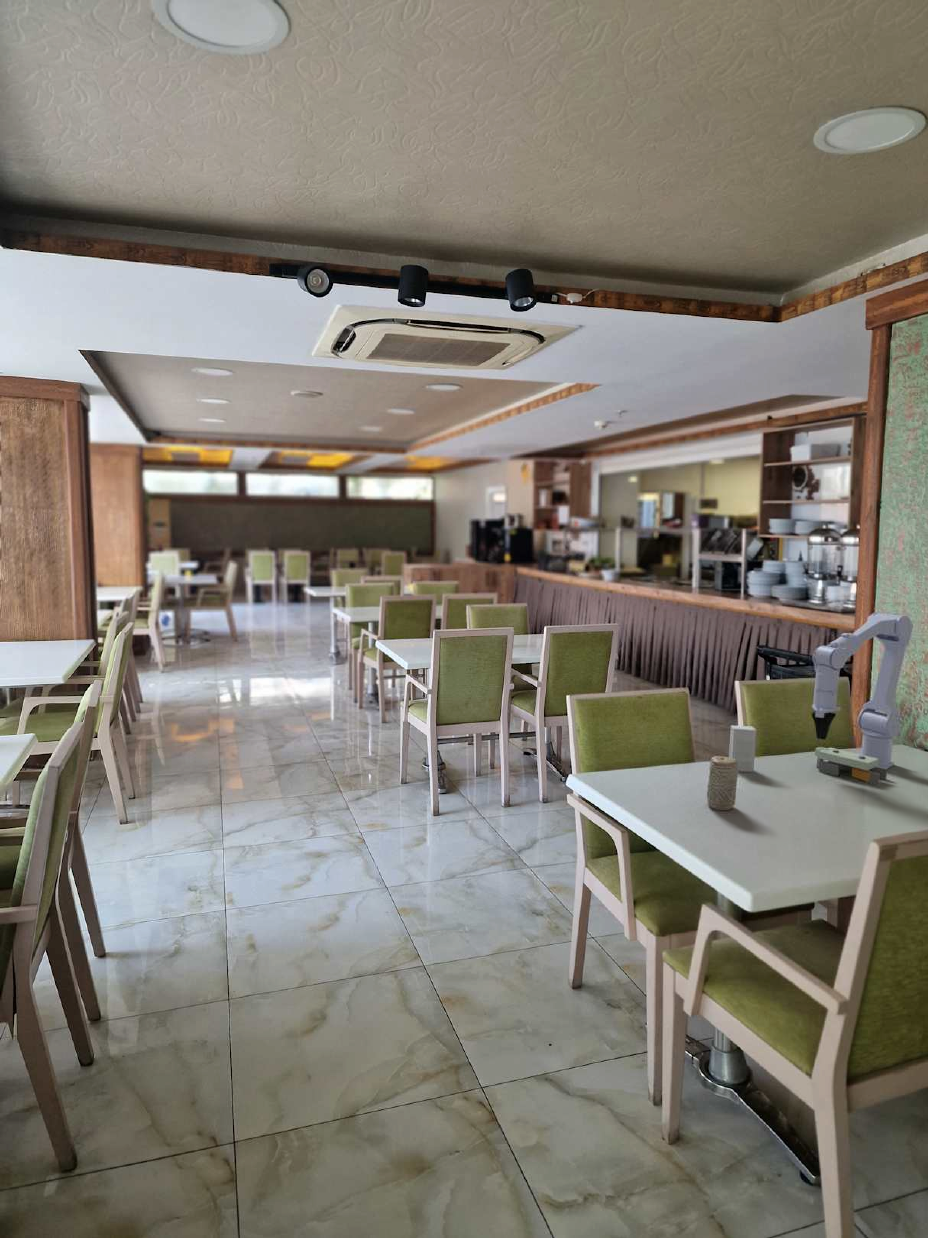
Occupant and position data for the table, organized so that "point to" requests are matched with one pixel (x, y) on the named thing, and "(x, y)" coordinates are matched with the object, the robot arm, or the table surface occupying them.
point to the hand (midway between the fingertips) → (821, 738)
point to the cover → (845, 758)
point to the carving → (722, 783)
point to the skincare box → (743, 747)
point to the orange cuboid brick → (861, 774)
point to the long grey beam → (834, 770)
